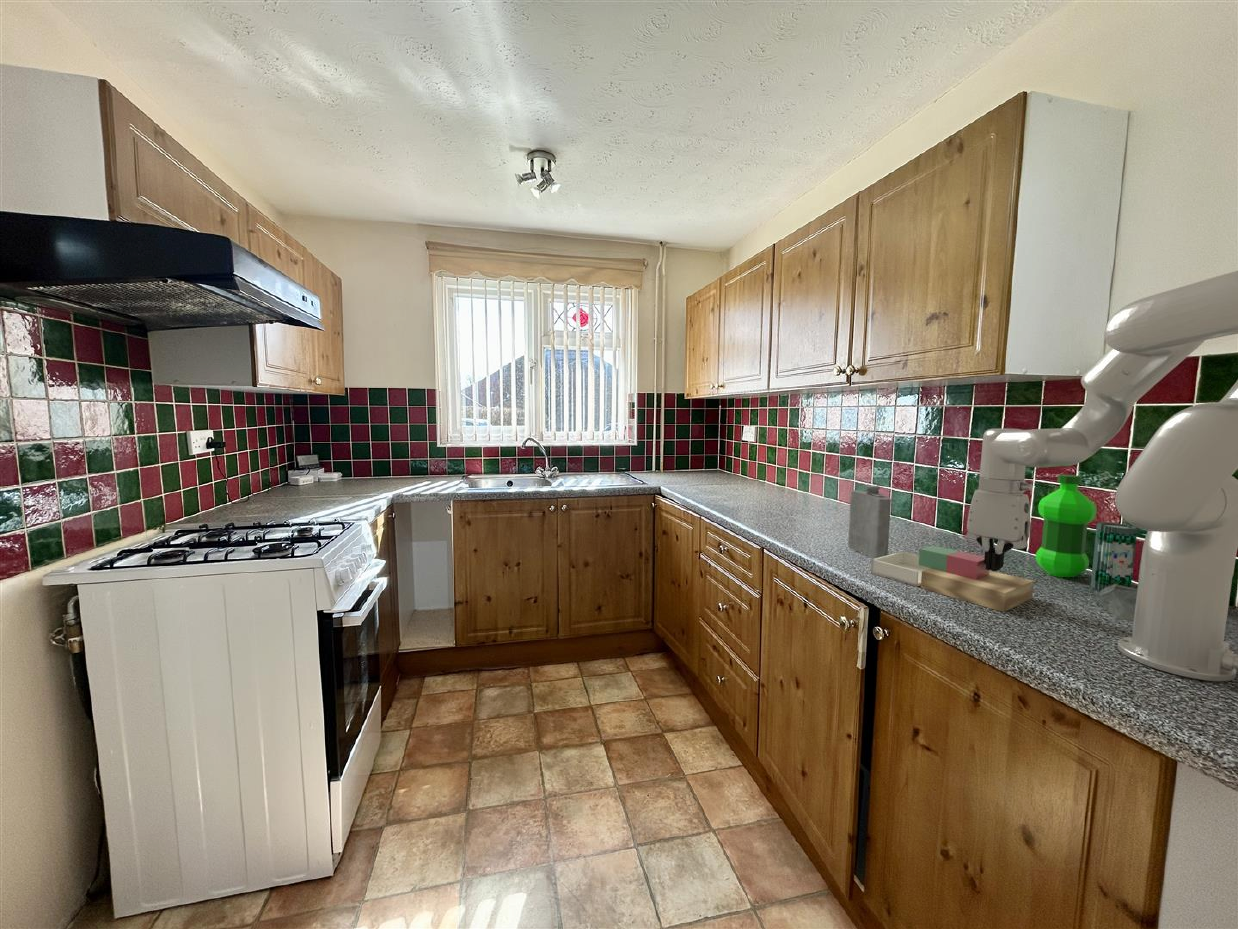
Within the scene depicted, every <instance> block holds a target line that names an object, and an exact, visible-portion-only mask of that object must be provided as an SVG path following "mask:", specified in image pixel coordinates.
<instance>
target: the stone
mask: <svg viewBox="0 0 1238 929" xmlns="http://www.w3.org/2000/svg"><path fill="white" fill-rule="evenodd" d="M1137 589H1138V588H1134V587H1132V586H1131V587H1126V586H1121V585H1118V584H1113V585H1111V586H1108V587H1106V588H1104V589H1103V590H1101V591H1098V592H1097V593H1096V595H1097V597H1098V599H1099V600H1098V601H1099V603H1100V604H1101V606H1102V608H1103V610H1104V611H1106V612H1109V613H1110V614H1111V615H1114V616H1115V617H1116V618H1119V619H1121V620H1123V621H1125V622H1133V623H1134V615H1135V607H1136V598H1137Z"/></svg>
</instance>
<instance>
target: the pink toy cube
mask: <svg viewBox="0 0 1238 929" xmlns="http://www.w3.org/2000/svg"><path fill="white" fill-rule="evenodd" d="M959 551H960V552H956V553H953V554H950V555H947V566H946V572H947V573H951V574H955V575H959V576H963V577H967V578H971V579H975V580H977V579H980V578H983V577H985V576H988V575H989V570H986V565H985V564H984V557H985V555H984V556H983V555H978V554H974V553H969V552H964V551H961V550H959Z"/></svg>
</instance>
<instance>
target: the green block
mask: <svg viewBox="0 0 1238 929" xmlns="http://www.w3.org/2000/svg"><path fill="white" fill-rule="evenodd" d="M960 551H961V550H956V549H952V548H951V549H950V548H946V547H942V546H937V545H930V546H925V547H922V548H919V553H918V555H919V566H923V567H927V568H932V569H936V570H940V571H944V572H946V566H947V555H950V554H953V553H956V552H960Z"/></svg>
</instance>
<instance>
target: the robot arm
mask: <svg viewBox="0 0 1238 929" xmlns="http://www.w3.org/2000/svg"><path fill="white" fill-rule="evenodd" d="M1103 332H1104V333H1103V335H1104V341H1105V343H1106V344H1107V346H1108V347H1110V348H1109V349H1108V350H1107V351H1106V352H1105V353H1104V354H1103V355H1102V356H1101V357H1100V358H1099V359H1098V360H1097V361H1096V362H1095V363H1094V364H1093V365H1091V367H1090V368H1089V369H1088V370H1086V372H1084V374H1083V375H1082V377H1081V378H1080V384H1081V385H1082V388H1083V389H1085V391H1086V400H1085V402H1084V403H1083V404H1084V405H1083V406H1082V408H1081V409H1080V410H1079V411H1078V412H1077V413H1076V414H1075V415H1074V416H1073V417H1072V418H1071V419H1070V420H1069V421H1068V422H1067V423H1066V424H1064V425H1063V426H1062V427H1061V428H1034V429H1020V428H990V429H989V428H988V429H987V430H985V432H984V433H983V436H982V445H981V447H982V448H981V454H980V455H981V457H980V458H981V459H980V469H979V480H978V489H975V490H974V493H973V496H972V498H971V502H970V506H969V510H968V516H967V524H966V530H967V532H966V537H967V539H968V538H969V539H971V540H973V541H975V542H977V543H978V544H979V545H980V547H982V550H983V551H984V564H985V565H986V570H990V571H994V572H999V571H1000V570H1001V569H1002V568H1003V567H1004V562H1005V553H1007V552H1008V551H1010V550H1012V549H1013V550H1014V549H1016V550H1017V549H1026V548H1028V542H1027V540H1028V539H1029V537H1030V536H1031V508H1030V507H1031V506H1030V500H1029V499H1030V498H1029V495H1028V494H1024V493H1025V492H1026V491H1032V489H1033V484H1032V483H1031V484H1030V483H1028V482H1026V479H1025V478H1026V467H1029V468H1050V467H1051V468H1052V467H1053V468H1054V467H1069V466H1071V467H1072V466H1074V465H1077V464H1080V463H1082V462H1084V461H1086V460H1087V459H1089V458H1090V457H1092V456H1093V455H1094V454H1096V453H1097V452H1098V451H1099V450H1100V449H1102V448H1103V447H1104V446H1105V445H1107V444H1108V442H1110V441H1111V440H1112V439H1113V438H1114V437H1115V436H1116V435H1117V434H1118V433H1119V432H1120V431H1121V430H1122V428H1123V427H1124V425H1125V424H1126V422H1127V420H1128V418H1129V417H1130V415H1131V413H1132V411H1133V407H1134V405H1135V404H1136V403H1137V402H1138V401H1139V399H1141V398H1142V397H1143V396H1144V395H1145V394H1147V392H1149V391H1150V390H1151V389H1152V388H1153V387H1154V386H1155V385H1156V384H1158V383H1159V382H1160V381H1161V380H1162V379H1163V378H1164V377H1166V376H1167V375H1168V374H1169V373H1170V372H1171V371H1173V370H1174V369H1175V368H1176V367H1178V365H1179V364H1181V362H1183V361H1184V360H1185V359H1187V357H1189V356H1190V355H1191V354H1193V352H1195V350H1197V349H1198V348H1199V347H1200V346H1201V345H1202V344H1204V342H1205V341H1207V340H1213V339H1218V338H1221V337H1227V336H1232V335H1238V270H1235V271H1231V272H1228V273H1223V274H1221V275H1217V276H1213V277H1211V278H1208V279H1207V278H1206V279H1205V280H1201V281H1197V282H1194V283H1190V284H1187V285H1184V286H1180V287H1176V288H1174V289H1168V290H1166V291H1163V292H1162V291H1161V292H1159V293H1155V294H1153V295H1148V296H1146V297H1143V298H1139V299H1137V300H1135V301H1133V302H1130V303H1128V304H1126V305H1125V306H1123V307H1121V308H1120V309H1119V310H1117V311H1116V312H1115V313H1114V314H1112V316H1111V317H1110V319H1109V320H1108V321H1107V323H1106V326H1105V328H1104V331H1103ZM1236 471H1238V379H1237V380H1236V382H1235V383H1234V384H1233V385H1232V386H1231V388H1230V389H1229V390H1228V391H1227V392H1226V394H1225V395H1224V396H1223V397H1222V398H1221V399H1220V400H1219V401H1218V402H1217V401H1216V402H1205V403H1200V404H1199V403H1198V404H1196V405H1192V406H1189V407H1187V408H1184V409H1183V410H1180V411H1178V412H1176V413H1175V414H1173V415H1172V416H1170V418H1167V420H1166V421H1164V423H1162V424H1161V425H1160V426H1159V428H1158V429H1157V430H1156V431H1155V433H1154V434H1153V436H1151V438H1150V440H1149V441H1148V442H1147V444H1146V446H1145V447H1144V448H1143V449H1142V451H1141V453H1140V454H1139V455H1138V457H1136V459H1135V461H1134V462H1133V463H1132V465H1131V466H1130V467H1129V469H1128V471H1127V472H1126V473H1125V475H1124V476H1123V478H1122V479H1121V480H1120V483H1119V484H1118V487H1117V488H1116V492H1115V494H1114V495H1115V496H1114V502H1115V506H1116V509H1117V512H1118V513H1119V515H1120V516H1121V517H1122V518H1123V520H1125V521H1126V522H1127V523H1129V525H1131V526H1134V527H1137V528H1138V529H1141V530H1145V531H1147V532H1146V535H1145V538H1144V541H1143V545H1142V550H1141V559H1140V565H1139V573H1138V583H1137V588H1136V589H1137V598H1136V607H1135V615H1134V622H1133V624H1132V625H1133V627H1132V634H1131V636H1127V637H1122V638H1120V639H1118V640H1117V646H1116V647H1117V649H1118V650H1119V652H1121V653H1122V654H1123V655H1125V656H1126V657H1128V658H1130V659H1132V660H1133V661H1136V662H1137V663H1139V664H1143V665H1145V666H1148V667H1150V668H1153V669H1156V670H1159V671H1161V672H1166V673H1168V674H1173V675H1177V676H1181V677H1183V678H1184V677H1185V678H1189V679H1190V678H1191V679H1195V680H1201V681H1209V682H1229V681H1233V680H1234V679H1236V677H1237V671H1238V654H1237V653H1235V651H1232V650H1230V645H1231V643H1230V642H1228V641H1224V640H1225V634H1226V627H1227V626H1226V625H1227V619H1228V612H1229V606H1230V597H1231V590H1232V584H1233V583H1232V582H1233V577H1234V572H1235V567H1236V566H1235V565H1236V558H1237V552H1238V479H1237V478H1235V476H1233V475H1234V474H1235V472H1236ZM995 540H997V544H996V546H995Z"/></svg>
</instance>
